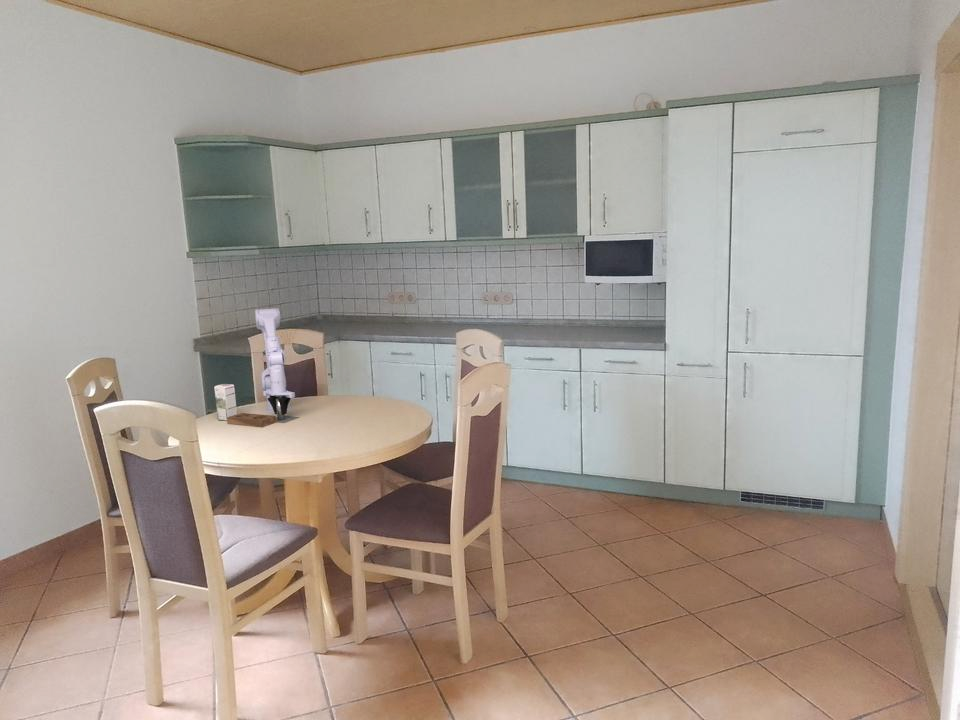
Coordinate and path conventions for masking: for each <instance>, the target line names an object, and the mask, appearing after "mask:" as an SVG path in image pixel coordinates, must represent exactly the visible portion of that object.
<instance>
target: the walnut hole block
mask: <svg viewBox="0 0 960 720" xmlns="http://www.w3.org/2000/svg"><path fill="white" fill-rule="evenodd" d="M276 417H277V415H272V414H271V415H270V414H259V413H248V412H246V413H245V412H240V413H237V414H236V415H233V416H230V417H227V421H226V422H227V425H232V426H233V425H234V426H242V427H243V426H244V427H252V428H262V429H263V428H265V427H268V426H271V425H274V424H277V423H276Z"/></svg>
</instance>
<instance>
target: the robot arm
mask: <svg viewBox="0 0 960 720" xmlns="http://www.w3.org/2000/svg"><path fill="white" fill-rule="evenodd" d="M254 317H255V324H256V325H255V326H256V329H257V330H260V331H261V332H262V335H263V342H264V353H265V361H266V368H265V369H264V370H263V371H262V372H261V374H260V377H261V378H260V382H261V390H262V391H263V393H262V394H263V397H266V409H264V410H262V412H263V413H271V414H275V415H277V410H276V399H275V398H278V401H279V404H280V407H281V414H282V415H285V416H286V415H287V412H288V410H290V409H292V406H291V403H290V401H291V399H293V398H295V397H296V394H295V392H294V391H289V390H287V379H286V374H285V363H286V359H285V357H286V356H285V352H284V350H283V348H282V344H281V340H280V337H278V336H277V330H276V329H277V328H279V327H280V325H281V312H280V309H279V308H278V307H272V308H261V309H260V308H259V309H258V308H256V309H255V310H254ZM279 397H281V398H279Z"/></svg>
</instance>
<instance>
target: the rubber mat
mask: <svg viewBox="0 0 960 720" xmlns="http://www.w3.org/2000/svg"><path fill="white" fill-rule="evenodd" d="M299 418H301V416H300V417H299V416H292V415H291V416H290V415H285V420H283V421H278V420H277V416H276V423H275V424H286V423H289V422H291V421H295V420H298V419H299Z"/></svg>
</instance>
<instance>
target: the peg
mask: <svg viewBox="0 0 960 720" xmlns="http://www.w3.org/2000/svg"><path fill="white" fill-rule="evenodd" d="M279 398H281V397H279ZM275 399H276V410H277V414H276V417H277V420H278V421H283V420H285V416H286V414H285V415H282V414H281V407H280V404H279V401H278V398H275Z"/></svg>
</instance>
